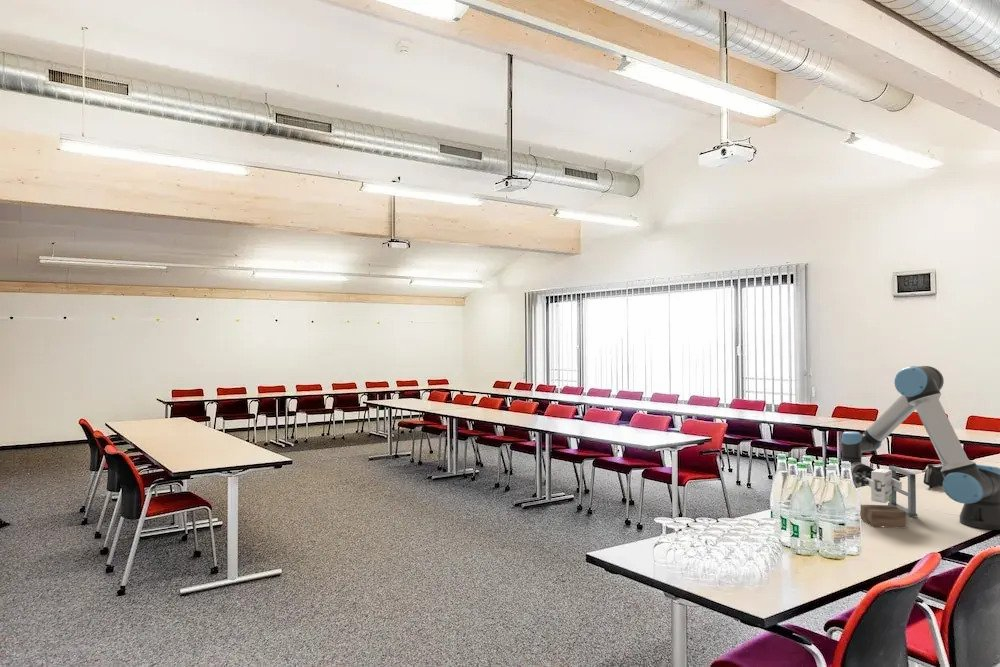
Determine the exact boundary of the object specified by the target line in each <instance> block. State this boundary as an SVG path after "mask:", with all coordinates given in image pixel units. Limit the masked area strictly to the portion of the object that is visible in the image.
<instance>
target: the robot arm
mask: <svg viewBox="0 0 1000 667" xmlns="http://www.w3.org/2000/svg"><path fill="white" fill-rule="evenodd" d="M944 384H945V383H944V376H943V374H942V373H941V371H940V370H938V369H937V368H936V367H934V366H929V365H921V366H917V365H911V366H908V367H907V366H906V367H904V368H902V369H900V370H899V371H898V372H897V374H896V375H895V378H894V387H895V390H896V391H897V392H898V393H899V394H901V395H900V396H899V397H898V398H897V399H896V400H894V402H893V403H891V405H890V406H889V407H888V408H887V409H886V410H885V411H884V412H883V413H882V414H881V415H879V417H878V418H876V420H875V421H874V422H873V423H872V424H871V425H870V426H869V427H868V428H867V429H866V430H864V432H863V433H861V432H858V431H843V432H842V434H841V439H840V440H841V459H840V460H842V461H849V462H851V465H852V476H853V479H852V480H853V481H854V483H855V484H857V485H858V484H860V483H861V486H863V487H865V485H866V486H868V487H870V489H871V488H875V481H873V480H871V472H872V471H874V469H873V468H872V467H871V466H869V465H866V464H864V463H863V462H862V456H863V453H866V452H867V453H868V452H874V451H876V450H878V449H880V447H881V446H882V442H883V441H884V440H886V438H888V436H890V434H892V432H894V431H895V430H896V429H897V428H898V427H899V426H900V425H901V424H902V423H903V422H904V421H905V420H907V418H908V417H910V416H911V414H912V413H914V412H915V411H916V412H917V414H918V416H919V419H920V421H921V423H922V425H923V426H924V429H925V431H926V433H927V435H928V437H929V439H930V442H931V444H932V445H933V446H932V447H933V448H934V449H935V452H936V454H937V456H938V458H939V461H940V463H941V464H942V465H941V466H943V467H942V469H941V473H942V475H943V477H944V481H943V486H942V488H943V491H944V493H945V494H946V496H948V498H949V499H951V500H953V501H954V502H956V503H959V504H963V506H962V509H961V511H960V513H959V523H961V524H963V525H965V526H968V527H971V528H972V527H973V528H977V527H978V529H982V528H983V530H990V531H991V530H993V531H997V530H998V531H1000V467H998V466H992V465H987V464H986V465H984V464H978V463H976V461H973V460H970V459H969V458H968V456H967V453H966V452H965V450H964V448H963V446H962V444H961V441H960V440H959V437H958V436H957V433H956V432H955V429H954V427H953V425H952V424H951V422H950V420H949V417H948V416H947V413H946V411H945V409H944V407H943V404H942V403H941V401H940V397H941V396H942V393H941V390H942V388H943V387H944ZM902 485H903V482H902V481H901V478H900V477H897V476H896V477H894V476H892V486H894V487H896V488H898V489H901V490H903V486H902Z"/></svg>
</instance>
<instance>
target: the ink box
mask: <svg viewBox="0 0 1000 667" xmlns="http://www.w3.org/2000/svg"><path fill="white" fill-rule="evenodd" d="M871 480H873V481H875V488H871V487H870V489H871V490H870V491H871V492H870V493H871V498H870V499H871V500H870V501H871V502H875V503H882V504H886V503H889V501H890V500H892V470H889V469H885V468H878V469H875V470H874V469H873V471H872V472H871Z"/></svg>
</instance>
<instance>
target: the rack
mask: <svg viewBox="0 0 1000 667" xmlns="http://www.w3.org/2000/svg"><path fill="white" fill-rule="evenodd" d="M888 470H892V476H894V477H897V473H899V474H901V475H904V476H906V477H907V491H906V490H903V489H898V488H896V487H894V486H892V500H890V501H888V502H887V505H893V506H895V507H897V508H899V509H901V510H902V511H904V512H906V516H907V515H908V516H907V517H909V516H917V517H918V513H917V499H916V498H917V490H916V489H917V488H916V477H917V476H916V473H913V472H910V471H907V470H905V469H904V468H900V467H899V466H895V465H888ZM897 492H898V493H899V494H901V495H904V496H905V497H907V507H905V506H903V505H900V504H899V503H897Z"/></svg>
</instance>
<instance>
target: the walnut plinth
mask: <svg viewBox="0 0 1000 667" xmlns="http://www.w3.org/2000/svg"><path fill="white" fill-rule="evenodd" d="M906 516H907V515H906V512H904V511H902V510H901V509H899V508H897V507H895V506H893V505H888V504H887V505H886V504H884V505H883V504H860V520H861V519H862V520H863V521H862V520H861V521H862V522H864V523H865V522H866V523H865V524H867V523H868V524H867V525H869V524H870V525H871V526H870V525H869V526H870V527H872V526H884V527H883V528H894V527H906V528H907V526H906V524H907V522H906V521H907V520H906V519H907V518H906Z"/></svg>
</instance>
